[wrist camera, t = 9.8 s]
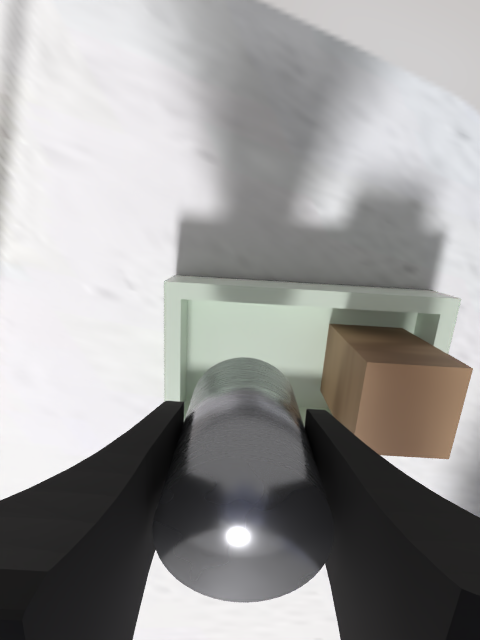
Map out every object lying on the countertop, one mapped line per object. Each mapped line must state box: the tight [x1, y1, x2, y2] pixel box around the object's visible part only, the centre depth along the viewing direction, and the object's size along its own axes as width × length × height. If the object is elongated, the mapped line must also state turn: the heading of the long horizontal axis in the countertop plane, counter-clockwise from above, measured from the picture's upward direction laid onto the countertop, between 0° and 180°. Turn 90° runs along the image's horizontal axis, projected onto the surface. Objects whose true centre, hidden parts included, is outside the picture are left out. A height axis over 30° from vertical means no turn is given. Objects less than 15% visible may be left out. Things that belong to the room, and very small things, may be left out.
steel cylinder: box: [152, 357, 334, 602], centre depth 10 cm, size 4×4×6 cm
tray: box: [164, 275, 461, 426], centre depth 17 cm, size 14×8×2 cm, turn 87°
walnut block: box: [320, 324, 473, 459], centre depth 15 cm, size 4×4×6 cm
